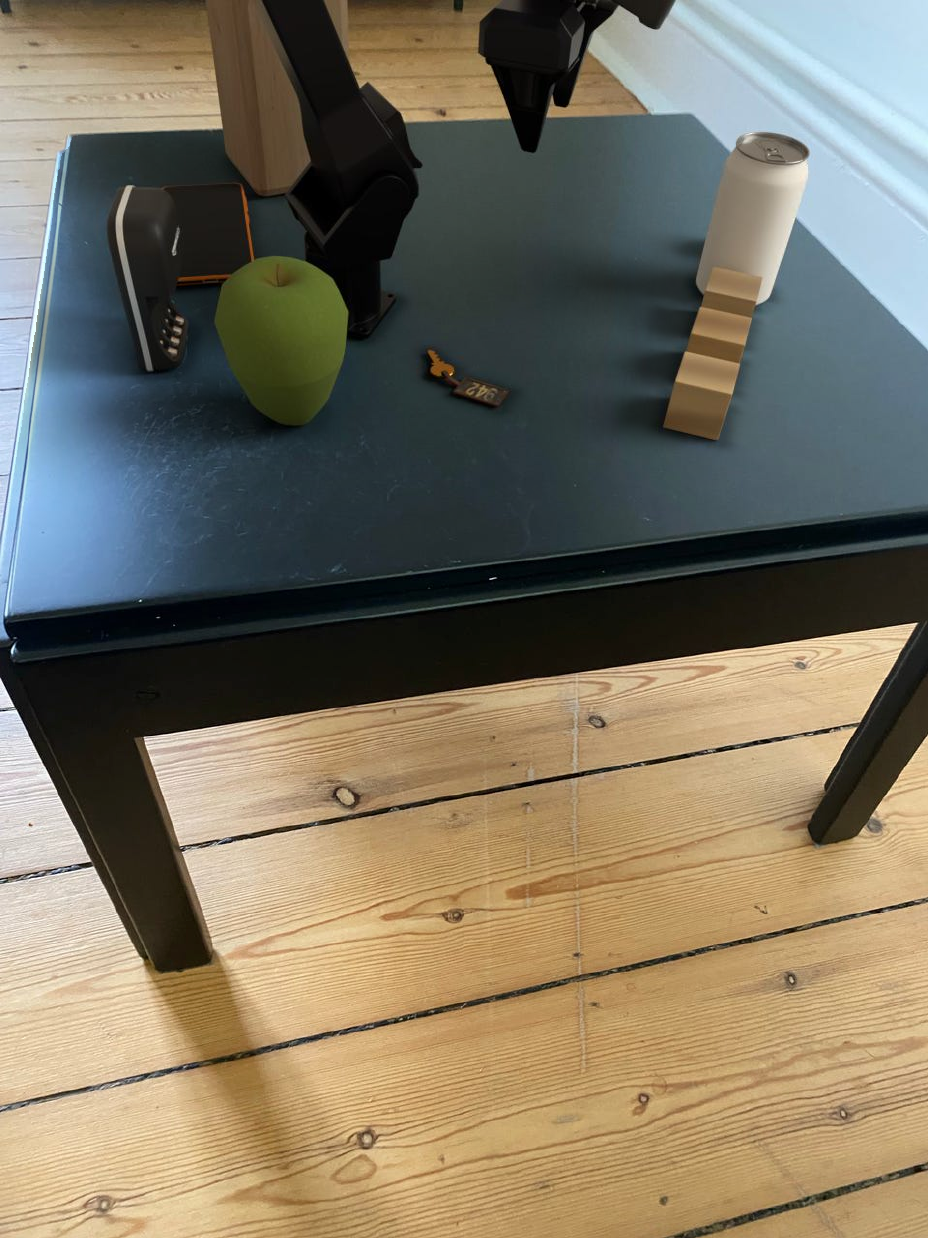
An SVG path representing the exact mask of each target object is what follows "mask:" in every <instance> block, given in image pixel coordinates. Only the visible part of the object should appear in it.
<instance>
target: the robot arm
mask: <svg viewBox="0 0 928 1238" xmlns="http://www.w3.org/2000/svg"><path fill="white" fill-rule="evenodd" d="M252 1H253V3H254V5H255V7H256V9H257V12H258V14H259V16H260V18H261V20H262V22H263V24H264V26H265V29H266V31H267V33H268V35H269V37H270V39H271V41H272V43H273V46H274V48H275V50H276V52H277V54H278V56H279V58H280V60H281V63H282V65H283V67H284V69H285V71H286V73H287V75H288V78H289V80H290V82H291V84H292V86H293V88H294V90H295V92H296V95H297V97H298V100H299V104H300V110H301V119H302V127H303V135H304V139H305V142H306V146H307V149H308V153H309V156H310V160H311V161H310V162H309V164H308V165H307V166H306V168H305V169H304V170H303V171H302V173H301V174H300V175H299V177H298V178H297V179H296V181H295V182H294V183H293V184H292V186H291V187H290V188H289V190H288V191H287V192H286V193H284V197H285V200H286V202H287V204H288V206H289V209H290V211H291V213H292V215H293V217H294V219H295V220H296V221H298V222H299V223H300V225H301V226H302V227H303V228H304V230H305V231H306V232H305V233H304V235H303V242H304V254H305V256H304V257H305V262H308V263H310V264H312V265H313V266H315V267H317V268H319V269H320V270H321V271H323V272H324V273H326V274H327V275H328V276H330V277H331V278H333V280H334V282H335V284H336V286H337V287H338V289H339V291H340V294H341V296H342V298H343V301H344V303H345V305H346V307H347V310H348V324H347V336H351V337H355V338H358V339H368V338H370V337H371V335H372V334H373V333H374V331H375V330H376V329H377V327H378V326H379V325H380V324H381V322H382V321H383V319H384V318H385V317H386V316H387V315H388V313H389V311H390V310H391V309H392V308H393V306H394V305H395V303H397V295H396V293H394V292H389V291H387V290H386V291H385V290H381V289H382V287H381V285H382V283H381V280H382V279H381V278H382V277H381V261H386V260H389V259H392V258H393V255H394V252H395V248H396V246H397V242H398V240H399V237H400V233H401V231H402V227H403V224H404V222H405V220H406V218H407V216H408V215H409V214H410V212H412V209H413V207H414V204H415V202H416V199H418V197H419V195H420V194H419V193H420V184H419V179H418V175H417V173H416V171H415V169H422V168H423V163H422V162H421V161H420V159H418V158H417V157H416V155H415V154H414V152H413V150H412V148H411V145H410V142H409V137H408V132H407V127H406V126H407V125H406V122H405V121H404V117H403V114H402V113H401V111H400V110H398V109H397V108H396V107H395V105H393V104H392V102H390V101H389V100H388V99H387V98H386V97H385V96H384V95H383V94H382V93H381V92H380V91H379V90H378V89H376V87H375V86H373V85H372V84H371V83H370V82H369V81H367V82H366V83H364V84H363V85H362V86H361V87H360V85H359V83H358V79H357V78H356V75H355V72H354V70H353V67H352V66H351V62H350V60H349V61H348V58H347V56H346V53H345V51H344V48H343V46H342V43H341V41H340V39H339V36H338V34H337V31H336V29H335V26H334V24H333V21H332V19H331V17H330V14H329V12H328V9H327V7H326V4H325V2H324V0H252ZM676 1H677V0H500V1H499V2H498V3H497V4H496V5H495V6H494V7H493V8H492V9H490V11H489V12H488V13H487V14H486V15H485V16H484V17H483V18H482V19H481V20H479V28H478V45H477V46H478V47H477V48H478V49H477V53H478V54H479V55H480V56H481V57H482V58H484V60H485V64H487V65H488V66H490V67H491V70H492V72H493V75H494V77H495V80H496V82H497V86H498V88H499V90H500V93H501V95H502V98H503V100H504V103H505V106H506V109H507V112H508V114H509V117H510V119H511V123H512V126H513V129H514V132H515V135H516V137H517V141H518V144H519V147H520V149H521V151H523V152H525V153H530V154H535V153H536V152H537V151H538V148H539V145H540V141H541V138H542V134H543V130H544V127H545V123H546V119H547V115H548V112H549V108H550V105H551V101H553V104H554V106H555V107H558V108H563V109H566V108H568V106H569V105H570V103H571V100H572V96H573V94H574V91H575V87H576V85H577V82H578V78H579V76H580V73H581V70H582V67H583V64H584V61H585V59H586V55H587V53H588V50H589V48H590V44H591V41H592V38H593V36H594V33H595V31H596V30H597V29H598V28H599V27H600V26H601V25H603V24H604V23H605V22H606V21H607V20H609V18H611V17H612V16H613V15H614V14H615V12H616V11H617V10H618V8H619V7H621V8H623V9H624V10H625V11H628V12H629V13H630V14H632V15H634V16H635V17H637V18H638V22H639V23H640V24H641V25H642V26H645V27H646V28H648V29H651V30H655V31H657V30H660V29H661V28H662V26H663V24H664V23H665V21H666V19H667V18H668V16H669V14H670V12H671V10H672V8H673V7H674V5H675V3H676ZM349 62H350V63H349Z"/></svg>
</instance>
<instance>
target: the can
mask: <svg viewBox="0 0 928 1238" xmlns="http://www.w3.org/2000/svg"><path fill="white" fill-rule="evenodd" d="M809 157H810V149H809V148H808V146H807V145H806V144H804V143H803V142H802V141H800V140H799V139H796V138H794V137H792V136H788V135H785V134H781V133H778V132H777V133H776V132H768V131H754V132H748V133H744V134H742V135H740V136H739V137H738V138H737V139H736V141H735V147H734V148H733V149H732V151H731V152H730V153H729V155H728V156H727V158H726V160H725V163H724V167H723V170H722V173H721V178H720V181H719V185H718V190H717V192H716V197H715V201H714V204H713V209H712V212H711V216H710V221H709V224H708V228H707V232H706V237H705V240H704V245H703V248H702V252H701V257H700V261H699V264H698V268H697V274H696V278H695V285H696V287H697V289H698V291H699V293H700V294H701V296H703V297H704V293H705V290H706V287H707V284H708V281H709V278H710V275H711V272H712V269H713V267H717V268H722V269H727V270H732V271H736V272H741V273H746V274H751V275H755V276H760V277H763V279H762V283H761V286H760V290H759V294H758V298H757V302H756V305H755V307H758V306H760V305H761V304H763V303H764V302H766V301H767V300H768V299H769V298H770V297H771V294H772V292H773V289H774V287H775V283H776V280H777V276H778V273H779V270H780V267H781V265H782V260H783V258H784V255H785V252H786V248H787V246H788V243H789V239H790V236H791V233H792V229H793V226H794V224H795V220H796V217H797V214H798V211H799V208H800V205H801V201H802V198H803V195H804V192H805V188H806V186H807V182H808V178H809V166H808V159H809Z"/></svg>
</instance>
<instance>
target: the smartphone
mask: <svg viewBox="0 0 928 1238" xmlns="http://www.w3.org/2000/svg"><path fill="white" fill-rule="evenodd" d="M161 189H163V190H165V191H167V192H168V193H169V194H170V196H171V197H172V199H173V201H174V204H175V207H176V211H177V215H178V219H179V223H180V228H181V232H182V237H183V242H184V247H185V253H184V257H183V261H182V265H181V269H180V274H179V278H178V282H177V286H190V285H191V286H192V285H205V284H220V283H224V282H225V281H226V280H227V279H228V278H229V277H230V276H231V275H232V274H233V273H234V272H236V271H237V270H239V269H240V268H242V267H243V266H245V265H246V264H248V263H250V262H252V261H254V260H255V257H254V249H253V243H252V235H251V230H250V224H251V221H250V215H249V214H248V213H249V208H248V201H247V196H246V195H245V189H244V185H243V184H242V183H239V182H227V183H206V184H203V183H202V184H185V185H184V184H183V185H169V186H167V185H166V186H163V187H162V188H161Z"/></svg>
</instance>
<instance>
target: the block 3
mask: <svg viewBox="0 0 928 1238" xmlns="http://www.w3.org/2000/svg"><path fill="white" fill-rule="evenodd" d="M740 367H741V363H734V362H730V361H725V360H721V359H717V358H712V357H708V356H704V355H699V354H695V353H690V352H686V351H684V353H683V355H682V359H681V362H680V365H679V368H678V371H677V373H676V375H675V379H674V382H673V387H672V390H671V395H670V398H669V402H668V405H667V410H666V414H665V418H664V422H663V425H662V427H663V428H664V429H668V430H673V431H676V432H681V433H684V434H688V435H692V436H697V437H701V438H704V439H709V440H714V441H719V438H720V435H721V432H722V429H723V426H724V422H725V420H726V416H727V414H728V409H729V406H730V403H731V400H732V396H733V394H734V389H735V386H736V381H737V379H738V375H739V374H738V373H739V371H740Z"/></svg>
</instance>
